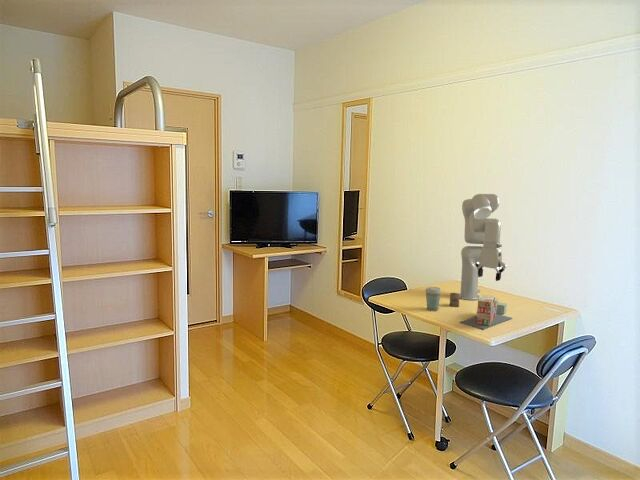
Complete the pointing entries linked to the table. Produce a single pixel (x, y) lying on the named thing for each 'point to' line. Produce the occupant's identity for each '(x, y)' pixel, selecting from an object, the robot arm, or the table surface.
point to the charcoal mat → (496, 320)
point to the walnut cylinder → (454, 299)
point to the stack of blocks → (486, 310)
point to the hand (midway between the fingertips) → (488, 278)
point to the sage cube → (501, 308)
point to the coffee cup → (433, 298)
